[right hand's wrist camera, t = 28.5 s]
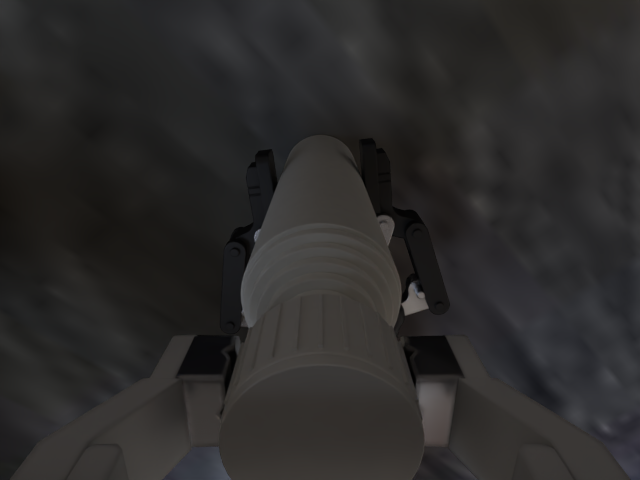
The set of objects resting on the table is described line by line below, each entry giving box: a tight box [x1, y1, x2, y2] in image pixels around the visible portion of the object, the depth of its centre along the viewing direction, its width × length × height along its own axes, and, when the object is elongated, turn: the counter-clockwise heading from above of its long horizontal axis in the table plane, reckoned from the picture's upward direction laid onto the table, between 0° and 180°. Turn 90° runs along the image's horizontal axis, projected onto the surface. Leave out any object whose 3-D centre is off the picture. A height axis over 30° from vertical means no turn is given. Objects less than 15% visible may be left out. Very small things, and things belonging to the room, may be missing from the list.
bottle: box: [241, 135, 402, 328], centre depth 19 cm, size 5×5×23 cm
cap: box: [219, 294, 425, 480], centre depth 9 cm, size 4×4×2 cm
